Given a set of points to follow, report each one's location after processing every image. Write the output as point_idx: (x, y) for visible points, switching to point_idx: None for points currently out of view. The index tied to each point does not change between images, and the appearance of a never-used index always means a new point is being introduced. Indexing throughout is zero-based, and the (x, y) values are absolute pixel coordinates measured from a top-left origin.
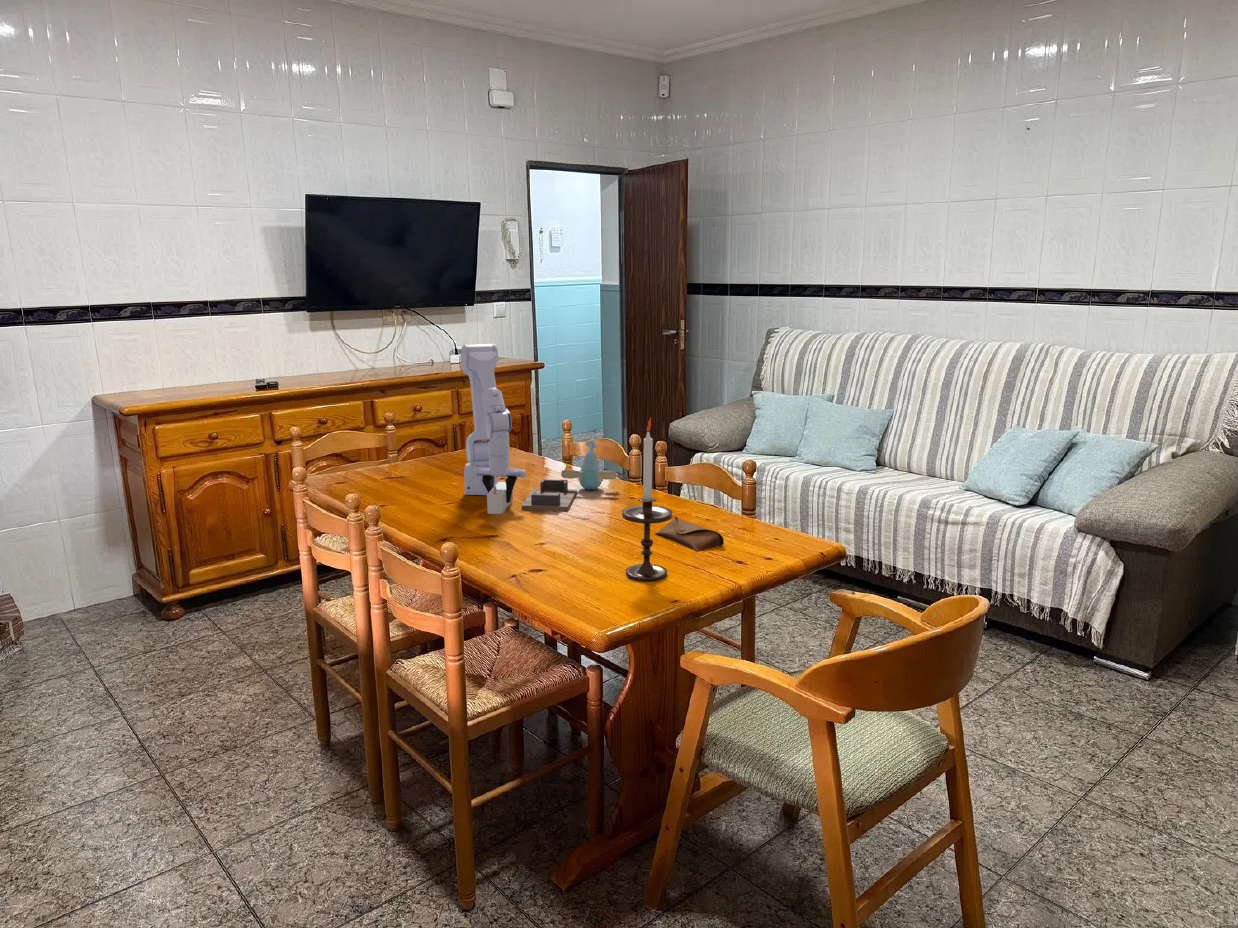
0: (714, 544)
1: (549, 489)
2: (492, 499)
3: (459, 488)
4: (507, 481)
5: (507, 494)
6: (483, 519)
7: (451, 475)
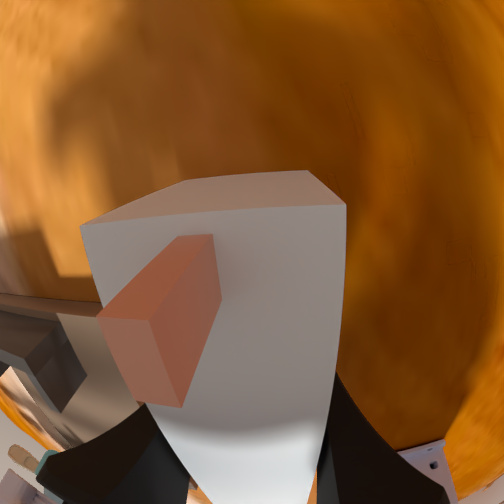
0: None
1: None
2: (244, 192)
3: None
4: (83, 487)
5: None
6: (283, 13)
7: None
